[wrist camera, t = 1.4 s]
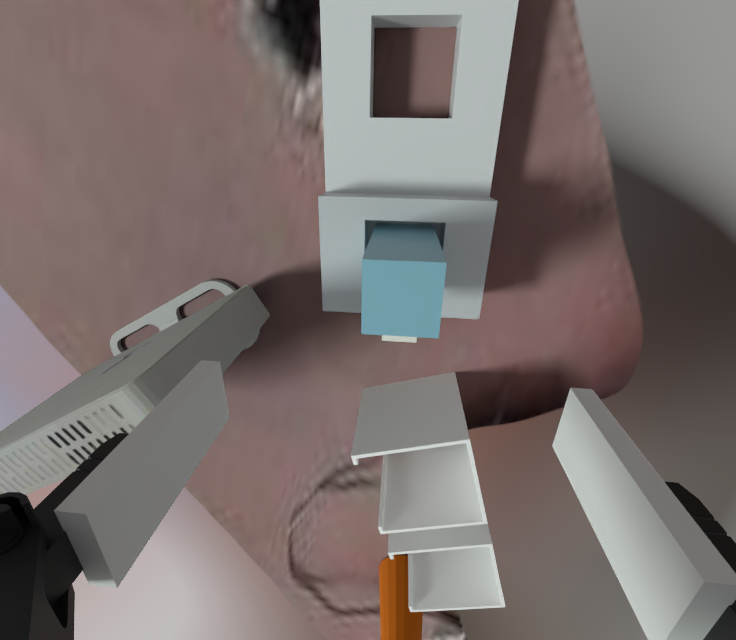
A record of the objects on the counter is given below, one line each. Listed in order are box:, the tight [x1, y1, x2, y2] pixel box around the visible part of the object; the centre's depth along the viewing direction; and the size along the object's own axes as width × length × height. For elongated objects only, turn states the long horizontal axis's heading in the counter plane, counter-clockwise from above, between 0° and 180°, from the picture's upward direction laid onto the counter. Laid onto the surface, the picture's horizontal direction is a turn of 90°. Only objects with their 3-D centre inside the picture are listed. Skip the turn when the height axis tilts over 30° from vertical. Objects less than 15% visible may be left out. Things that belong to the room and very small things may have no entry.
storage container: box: [351, 372, 505, 612], centre depth 43 cm, size 25×11×11 cm, turn 16°
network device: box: [0, 279, 270, 495], centre depth 34 cm, size 26×9×20 cm, turn 119°
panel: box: [318, 0, 519, 319], centre depth 31 cm, size 24×14×6 cm, turn 179°
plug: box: [361, 223, 447, 343], centre depth 29 cm, size 6×5×12 cm
